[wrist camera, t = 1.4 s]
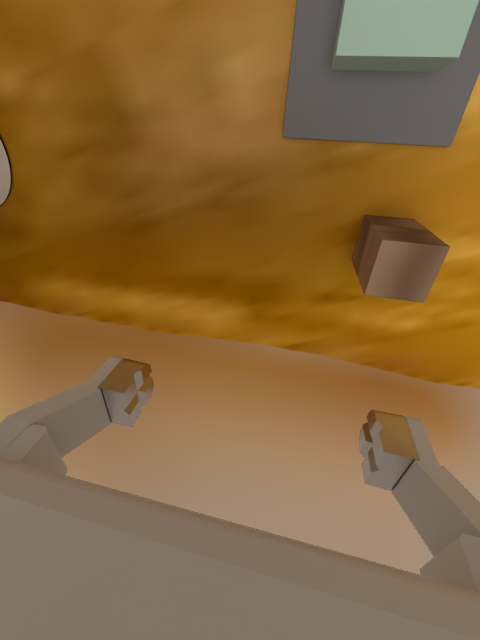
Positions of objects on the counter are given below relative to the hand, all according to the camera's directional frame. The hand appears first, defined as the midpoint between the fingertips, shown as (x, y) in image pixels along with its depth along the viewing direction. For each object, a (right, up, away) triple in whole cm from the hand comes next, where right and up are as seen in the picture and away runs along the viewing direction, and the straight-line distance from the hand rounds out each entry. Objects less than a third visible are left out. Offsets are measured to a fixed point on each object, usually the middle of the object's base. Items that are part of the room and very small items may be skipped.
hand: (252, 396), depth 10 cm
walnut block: (+15, +12, +21) cm, 28 cm away
